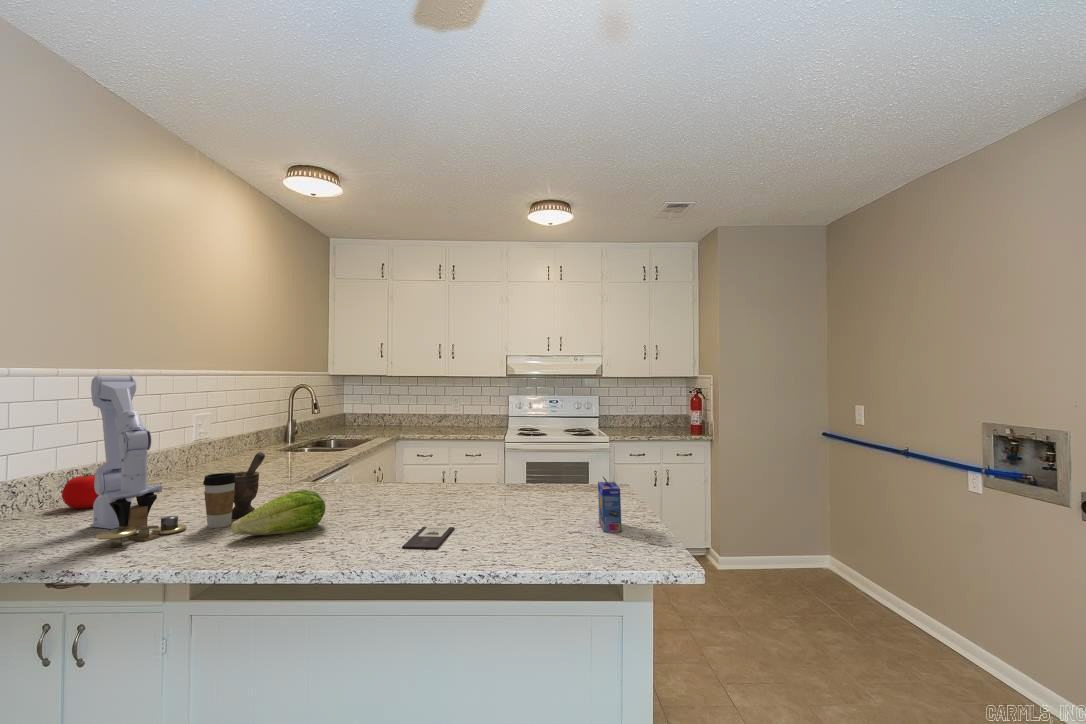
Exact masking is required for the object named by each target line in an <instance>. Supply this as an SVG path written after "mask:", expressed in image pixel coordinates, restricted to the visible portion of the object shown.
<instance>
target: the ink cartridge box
mask: <svg viewBox="0 0 1086 724" xmlns="http://www.w3.org/2000/svg"><path fill="white" fill-rule="evenodd" d="M602 478H603V479H604V481H598V482H597V491H598V492H597V493H598V494H597V495H598V496H597V497H598V498H597V499H598V501H597V502H598V523H599V525H600V528H601V530H602V532H603V533H622V532H623V531H622V530H623V528H622V503H621V502H622V500H621V488H620V487H619V486H618V484H617V483H616V482H615V481H608V480H607V479H606V478H605V476H602Z"/></svg>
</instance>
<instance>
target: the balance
mask: <svg viewBox="0 0 1086 724" xmlns="http://www.w3.org/2000/svg"><path fill="white" fill-rule="evenodd" d="M186 529H187V525H186V524H179V516H178V515H168V516H163V517H161V518H160V526H159V525H157V524H156V525H154V524H153V525H147V526H135V527H130V528H122V529H119V528H114V529H110V530H105V531H102V532H99V533H97V534H96V535H95V537H96V539H98V540H109V541H110V543H109V546H110V549H115V548H121V547H122V546H123V538H125V537H128V536H129V537H128V539H127V540H130V541H137V542H143V543H145V542H149V541H152V540H155V539H158V538H161V537H160V535H168V534H174V533H180V532H182V531H185V530H186ZM136 530H137V531H138V534H136V533H137V531H136ZM150 530H151V533H150ZM135 534H136V535H135ZM131 535H133V536H131Z"/></svg>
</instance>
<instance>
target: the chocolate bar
mask: <svg viewBox="0 0 1086 724" xmlns="http://www.w3.org/2000/svg"><path fill="white" fill-rule="evenodd" d="M454 530H455V527H454V526H422V527H421V528H420V529H419V530H417V532H415V534H414V535H412V537H410V538H409V539H408V541H406V542H405V543H404V544H403V545H402V546H401V549H402V550H403V549H404V550H434V551H436V550H437V551H438V549H439V548H440V546H441V545H442V544H443V543H444V542H445V541H446V539H447V538H448V537H449V536H450V535H451V534H452V532H453V531H454Z"/></svg>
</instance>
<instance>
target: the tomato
mask: <svg viewBox="0 0 1086 724" xmlns="http://www.w3.org/2000/svg"><path fill="white" fill-rule="evenodd" d="M94 481H95V474H89V473H86V474H83V475H79V476H76V477H75V476H74V477H72V478H70V479H69V480H68V481H67V483H66V484H65V485H64V487H63V489H62V491H61V498H62V501H63V502H64V504H65V505H67V506H68V507H70V508H73V509H80V510H81V509H91V508H92V509H93V505H94V502H95V500H96V498H97V497H98V496H100V495H98V494H96V492H95V488H94Z"/></svg>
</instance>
